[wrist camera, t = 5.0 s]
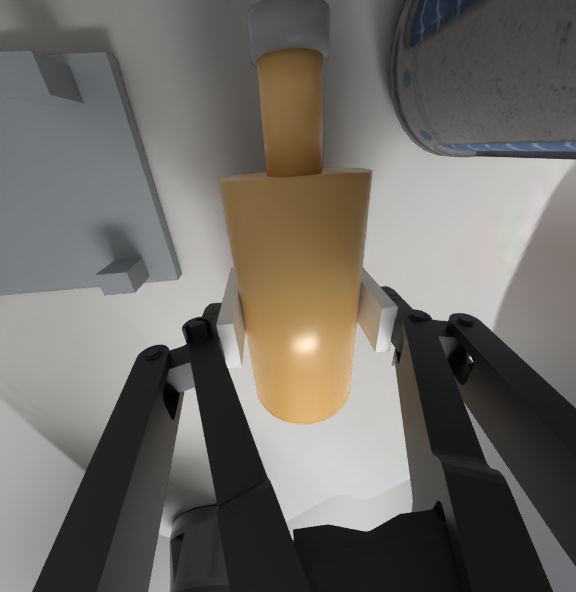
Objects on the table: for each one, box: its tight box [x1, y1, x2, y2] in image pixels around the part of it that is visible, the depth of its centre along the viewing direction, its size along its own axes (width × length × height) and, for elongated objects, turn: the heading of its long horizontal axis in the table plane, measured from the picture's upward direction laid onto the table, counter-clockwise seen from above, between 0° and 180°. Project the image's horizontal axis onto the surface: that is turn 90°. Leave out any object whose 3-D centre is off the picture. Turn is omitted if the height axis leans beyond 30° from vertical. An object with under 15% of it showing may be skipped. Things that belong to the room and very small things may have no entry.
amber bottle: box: [219, 0, 372, 424], centre depth 14 cm, size 19×7×7 cm, turn 3°
